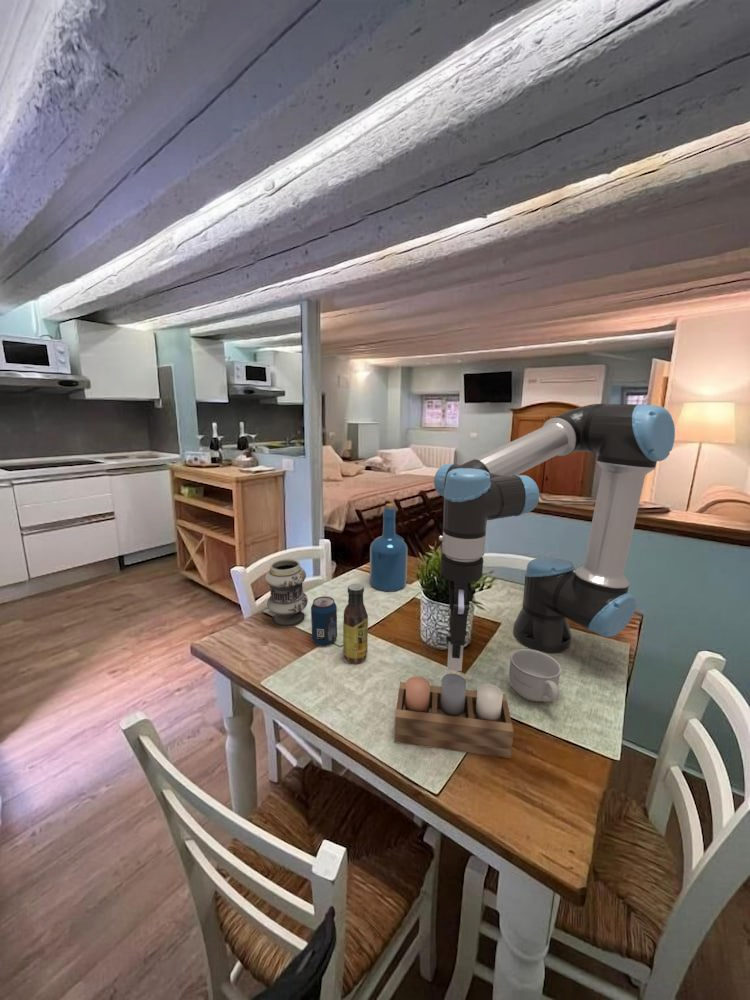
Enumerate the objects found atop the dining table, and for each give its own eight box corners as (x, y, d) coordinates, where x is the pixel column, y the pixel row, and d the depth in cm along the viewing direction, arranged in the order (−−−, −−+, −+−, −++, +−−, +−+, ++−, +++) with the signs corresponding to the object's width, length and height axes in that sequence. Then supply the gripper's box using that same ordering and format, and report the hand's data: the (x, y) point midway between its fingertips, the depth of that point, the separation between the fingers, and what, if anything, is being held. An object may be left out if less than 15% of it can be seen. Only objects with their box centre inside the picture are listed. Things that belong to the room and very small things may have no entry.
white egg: (498, 710, 83) (500, 685, 81) (501, 729, 78) (504, 702, 77) (474, 707, 84) (476, 682, 82) (476, 725, 79) (478, 699, 78)
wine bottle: (394, 596, 138) (396, 511, 131) (362, 586, 145) (362, 505, 138) (413, 581, 149) (416, 502, 142) (382, 573, 156) (384, 497, 149)
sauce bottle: (361, 667, 102) (362, 595, 97) (339, 662, 104) (338, 591, 99) (371, 652, 108) (371, 584, 103) (349, 647, 110) (349, 580, 105)
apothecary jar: (280, 606, 131) (277, 554, 127) (314, 612, 128) (313, 558, 123) (260, 626, 120) (256, 569, 115) (297, 632, 117) (295, 574, 112)
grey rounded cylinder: (463, 699, 84) (465, 674, 82) (465, 717, 79) (467, 691, 77) (440, 697, 84) (441, 672, 83) (440, 714, 80) (441, 688, 78)
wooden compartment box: (503, 718, 86) (505, 694, 85) (510, 758, 76) (513, 731, 75) (399, 705, 89) (400, 681, 88) (394, 742, 80) (395, 716, 78)
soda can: (317, 632, 117) (315, 594, 114) (340, 635, 116) (339, 596, 113) (308, 646, 110) (306, 606, 107) (332, 649, 109) (332, 608, 106)
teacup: (502, 675, 99) (504, 646, 97) (546, 676, 99) (550, 647, 97) (519, 719, 86) (523, 686, 84) (571, 720, 86) (576, 688, 84)
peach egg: (429, 702, 85) (430, 677, 84) (428, 719, 80) (429, 693, 79) (406, 699, 86) (407, 674, 84) (404, 716, 81) (405, 691, 80)
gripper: (441, 541, 80) (435, 646, 86) (441, 567, 68) (434, 688, 74) (480, 543, 79) (471, 650, 85) (487, 570, 67) (476, 693, 73)
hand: (454, 667), depth 79 cm, fingers closed
